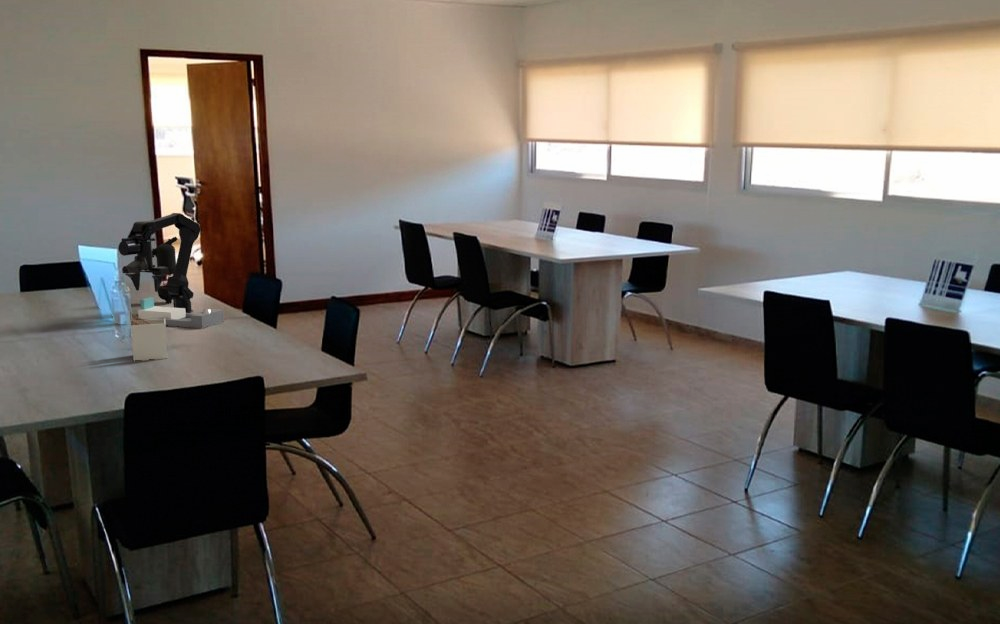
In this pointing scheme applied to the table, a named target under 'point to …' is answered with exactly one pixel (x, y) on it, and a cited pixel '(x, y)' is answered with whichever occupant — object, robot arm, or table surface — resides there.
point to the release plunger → (206, 310)
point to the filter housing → (197, 319)
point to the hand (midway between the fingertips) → (147, 291)
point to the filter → (165, 264)
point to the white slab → (159, 311)
